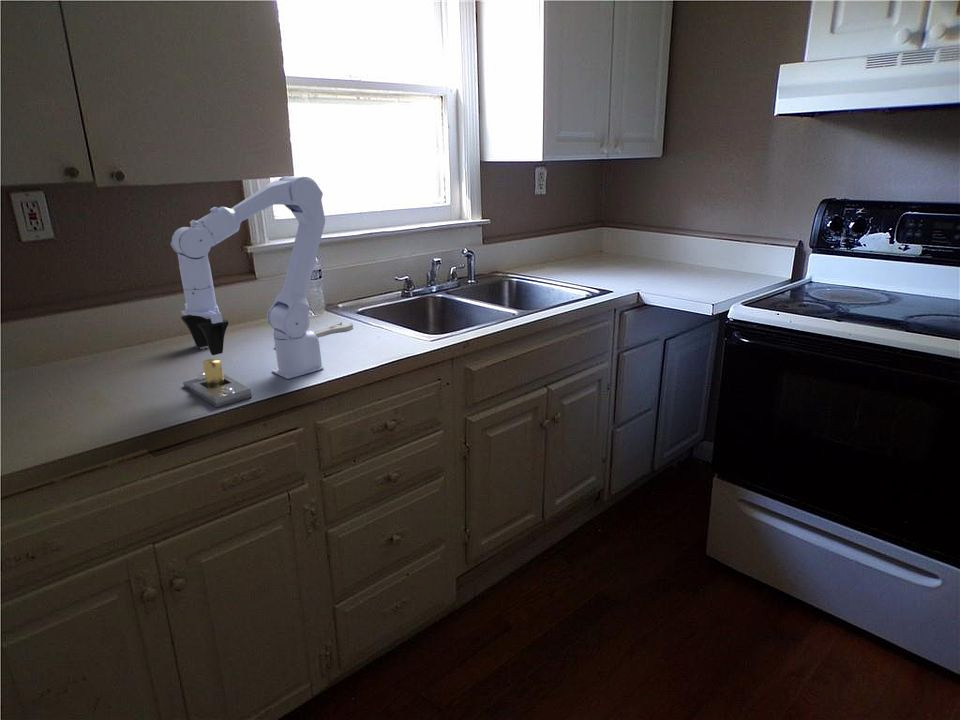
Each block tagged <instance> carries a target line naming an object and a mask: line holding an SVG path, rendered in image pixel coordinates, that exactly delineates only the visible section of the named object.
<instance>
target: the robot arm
mask: <svg viewBox="0 0 960 720" xmlns="http://www.w3.org/2000/svg"><path fill="white" fill-rule="evenodd" d="M323 196H324V195H323V191H322V190H321V188H320V187H319V185H318V183H317V182H316V181H315V180H314V179H312V178H311V177H309V176H291V175H285V176H282V177H280V178H279V179H278V180H273V181H271V182H269V183H268V184H266V185H265V186H263V187H262V188H261V189H259V190H256V191H255V192H254V193H253V194H251V195H249V196H248V197H247V198H245V199H243V200H242V201H239V202H238V203H237V204H235V205H233V207H231V208H229V207H226V206H220V207H217V206H214V207H212V208H210V209H209V212H210V213H208V214H206V215H204V216H203V217H201V218H199V219H197V220H196V219H192V220H191V221H190V222H189V224H190V227H189V226H182V227H179V228H177V229H176V230H175V231H174V233H173V234H172V236H171V242H170V246H171V248H172V249H173V251H174V252H176V253H177V260H178V265H179V266H178V268H179V272H180V278H181V283H182V289H183V295H184V299H185V300H184V301H185V303H184V308H185V309H183V310H181V317H180V319H181V320H182V322H183V323H184V324H185V325H186V327H187V328H188V330H189V333H190V334H191V336H192V340H193V339H194V341H195V344H196V346H195V347H196V348H197V347H198V348H201V347H205V346H208V347H209V348H208V349H209V353H210V354H211V355H212V356H216V355H221V354H223V352H224V341H225V340H224V339H225V334H226V331H227V328H228V326H229V320H228V319H225V318H224V319H223V316H222V315H223V314H222V312H220V310H219V306H218V304H217V299H216V293H215V287H214V281H213V275H212V269H211V264H210V260H209V253H210V251H211V248H212V247H214V246H216V245H218V244H219V243H221V242H223V241H225V240H226V239H227V238H229V237H231V236H232V235H234V234H236V233H238V232H239V230H240V228H241V223H242V222H244V221H246V220H247V219H249V218H251V217H252V216H253V217H254V216H255V215H257V214H259V213H260V212H263V211H265V210H266V209H268V208H270V207H271V206H275V205H283V206H284V207H285V208H287V209H288V210H290V211H291V213H292V214H293V215H294V217H295V219H296V220H297V222H298V226H297V231H296V235H295V238H294V242H293V243H294V244H293V246H292V250H291V254H290V259H289V261H288V262H289V263H288V266H287V270H286V274H285V278H284V282H283V287H282V290H281V291H279V293H278V294H277V295H276V296H275V300H274V302H273V304H272V306H271V307H270V308H269V309H268V311H267V314H266V321H267V323H268V325H269V326H270V327H271V328H272V329H273V342H274V349H275V354H276V355H275V356H276V363H277V367H275V368H272V369H271V372H272V373H274V374H276V375H278V376H280V377H282V378H284V379H286V380H289V379H293V378H296V377H300V376H303V375H308V374H311V373H314V372H317V371H318V372H319V371H321V370H324V369H325V368H324V366H323V365H322V355H321V348H320V341H319V337H318V338H317V336H316V334H315V333H314V332H315V331H313V330H312V329H311V330H309V327H310V317H309V313H310V307H311V306H310V305H309V302H308V298H307V293H308V290H309V287H310V282H311V279H312V275H313V271H314V268H315V264H316V260H317V255H318V252H319V248H320V243H321V240H322V235H323V232H324V228H325V223H326V216H325V212H324V206H323V202H322V198H323ZM194 341H193V342H194ZM198 348H197V349H198Z"/></svg>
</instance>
